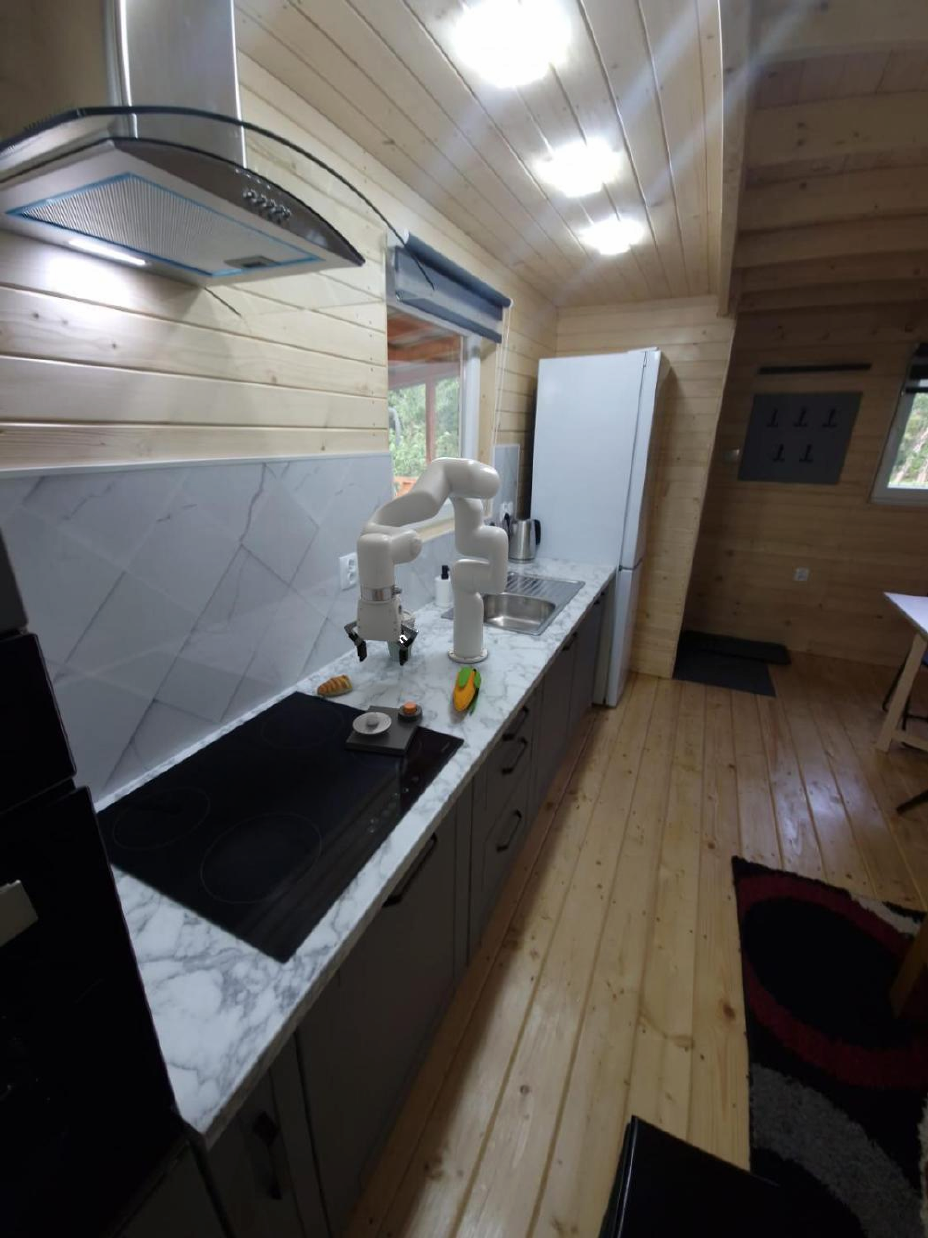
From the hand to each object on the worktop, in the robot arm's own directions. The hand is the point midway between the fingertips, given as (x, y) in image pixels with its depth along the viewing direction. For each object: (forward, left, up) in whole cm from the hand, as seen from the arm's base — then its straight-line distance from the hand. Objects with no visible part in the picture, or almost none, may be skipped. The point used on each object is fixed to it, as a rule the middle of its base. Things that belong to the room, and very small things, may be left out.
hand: (383, 661), depth 114 cm
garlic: (+3, -2, -15) cm, 16 cm away
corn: (-17, +16, -19) cm, 31 cm away
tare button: (-5, +4, -16) cm, 17 cm away
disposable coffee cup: (-39, -9, -19) cm, 45 cm away
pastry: (-15, -20, -19) cm, 32 cm away
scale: (+1, 0, -19) cm, 19 cm away
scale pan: (+3, -3, -16) cm, 16 cm away
